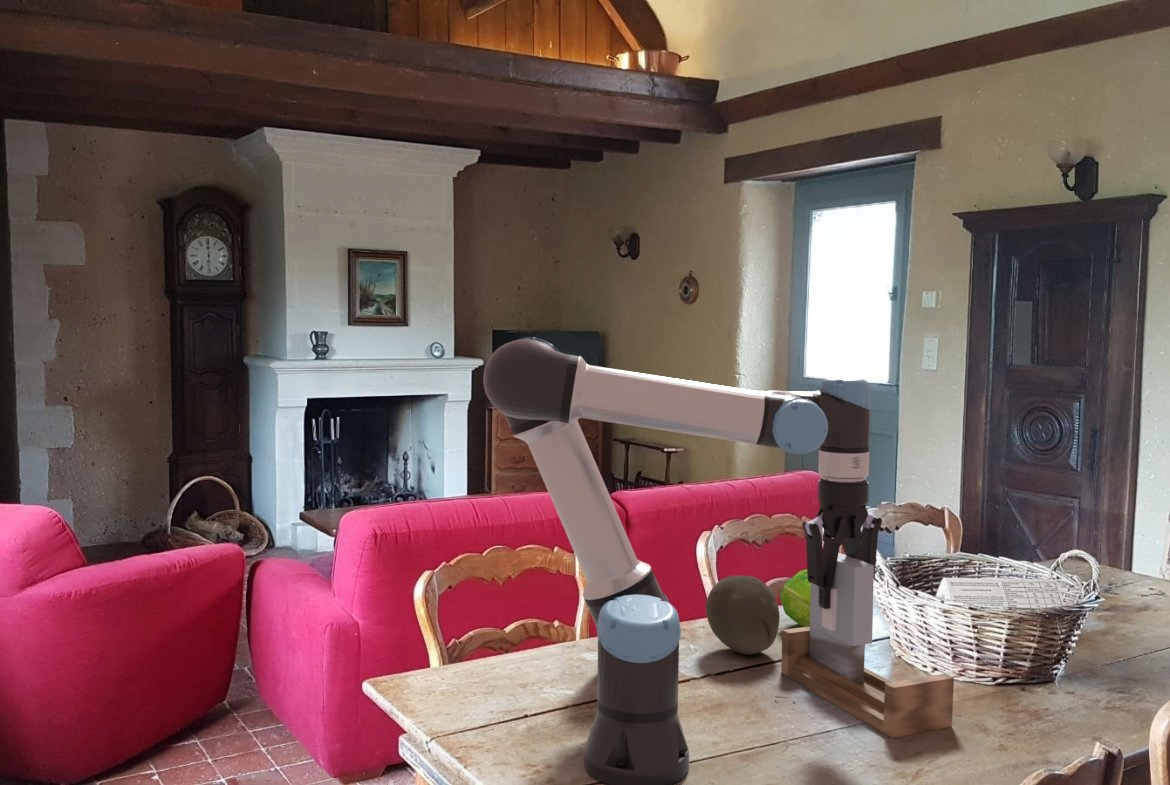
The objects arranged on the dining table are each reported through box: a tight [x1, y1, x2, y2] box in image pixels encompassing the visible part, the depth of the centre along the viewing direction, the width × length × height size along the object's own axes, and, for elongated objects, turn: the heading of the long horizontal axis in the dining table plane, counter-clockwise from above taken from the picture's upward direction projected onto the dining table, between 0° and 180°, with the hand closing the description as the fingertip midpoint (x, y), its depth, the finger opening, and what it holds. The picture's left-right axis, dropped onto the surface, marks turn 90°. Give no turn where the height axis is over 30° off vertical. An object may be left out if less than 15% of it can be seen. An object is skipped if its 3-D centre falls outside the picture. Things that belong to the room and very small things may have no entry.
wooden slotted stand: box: [780, 625, 955, 739], centre depth 166 cm, size 12×30×14 cm, turn 23°
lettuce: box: [779, 568, 811, 628], centre depth 201 cm, size 14×20×12 cm
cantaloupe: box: [705, 575, 780, 656], centre depth 188 cm, size 14×14×15 cm
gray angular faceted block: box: [810, 552, 875, 646], centre depth 151 cm, size 4×11×12 cm, turn 22°
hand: (840, 626), depth 152 cm, fingers closed on gray angular faceted block, 3 cm apart
